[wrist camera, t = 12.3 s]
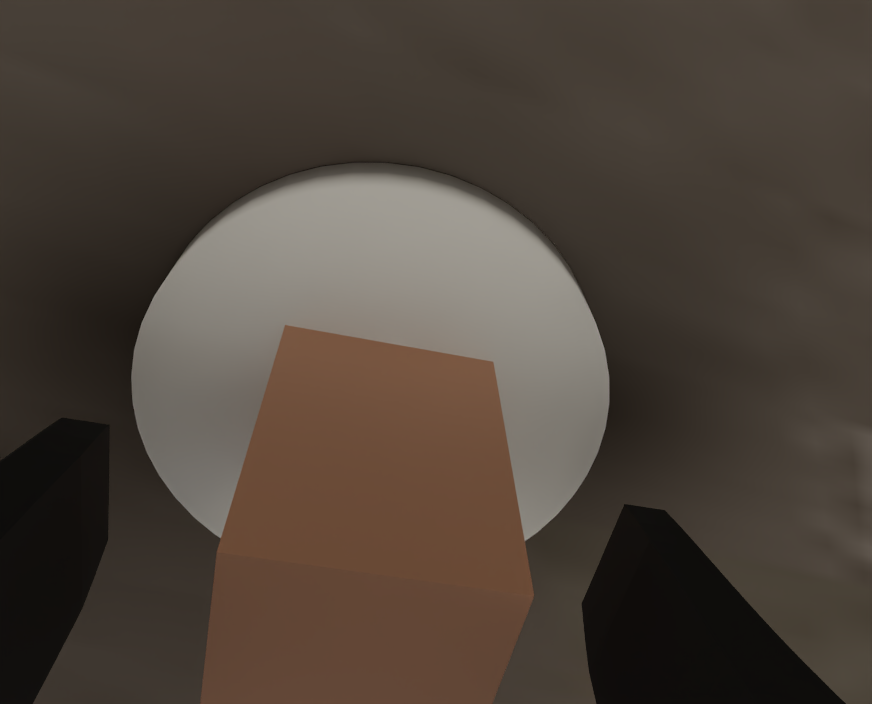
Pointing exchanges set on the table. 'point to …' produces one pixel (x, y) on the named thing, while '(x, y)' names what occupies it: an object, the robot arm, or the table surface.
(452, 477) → the block
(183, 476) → the dish
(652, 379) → the table surface
